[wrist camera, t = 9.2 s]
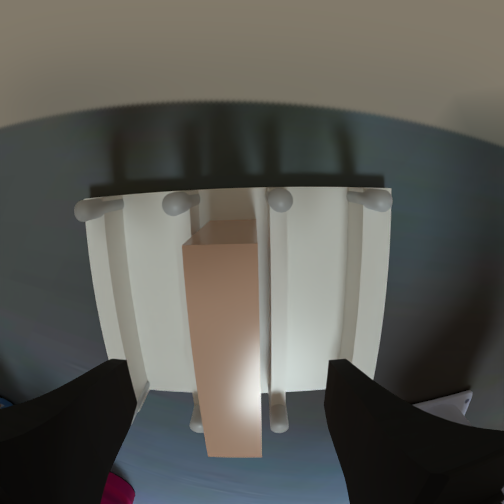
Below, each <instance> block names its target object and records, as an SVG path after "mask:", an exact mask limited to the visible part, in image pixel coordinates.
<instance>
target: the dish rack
mask: <svg viewBox="0 0 504 504" xmlns="http://www.w3.org/2000/svg"><path fill="white" fill-rule="evenodd" d="M392 203H393V199H392V196H391V188H368V187H251V188H221V189H200V190H182V191H166V192H152V193H139V194H127V195H116V196H106V197H96V198H87V199H84V200H81V201H79V202H78V203H77V204H76V205H75V208H74V214H75V217H76V218H77V219H78V220H79V221H81V222H85V221H86V232H87V242H88V250H89V258H90V266H91V273H92V279H93V286H94V292H95V298H96V303H97V309H98V314H99V319H100V324H101V329H102V333H103V338H104V342H105V346H106V351H107V355H108V359H109V360H110V359H123V360H127V364H128V368H129V373H130V377H131V381H132V385H133V388H134V392H135V396H136V400H137V406H136V410H135V414H134V417H133V420H132V423H133V421H134V418H135V416H136V414H137V412H138V411H140V409H141V407H142V405H143V403H144V401H145V398H146V396H147V394H148V392H149V390H161V391H176V392H192V393H193V399H194V405H195V406H194V410H193V413H192V417H191V421H190V428H191V429H192V430H193V431H194V432H197V433H203V432H204V430H203V424H202V418H201V412H200V405H199V399H198V392H197V385H196V378H195V371H194V363H193V355H192V347H191V339H190V330H189V321H188V312H187V302H186V291H185V280H184V269H183V256H182V245H183V244H184V243H185V242H186V241H187V240H188V239H190V238H191V237H192V236H193V235H194V234H195V233H196V232H197V231H199V230H200V229H201V228H202V227H203V226H204V225H205V224H207V223H208V222H209V221H211V220H242V219H256V224H257V240H258V278H259V324H260V375H261V393H268V394H269V410H270V426H271V430H272V431H273V432H276V433H282V432H285V431H286V430H287V429H288V428H289V424H288V417H287V409H286V402H285V392H293V391H309V390H321V389H326V382H327V373H328V363H329V360H336V359H347V360H348V361H349V362H351V363H352V364H353V365H355V366H356V367H357V368H358V369H360V370H361V371H362V372H363V373H365V374H366V375H367V376H368V377H370V378H371V379H372V380H373V378H374V373H375V368H376V362H377V356H378V350H379V343H380V337H381V330H382V322H383V314H384V306H385V297H386V287H387V276H388V263H389V248H390V227H391V206H392ZM132 423H131V424H132Z"/></svg>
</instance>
